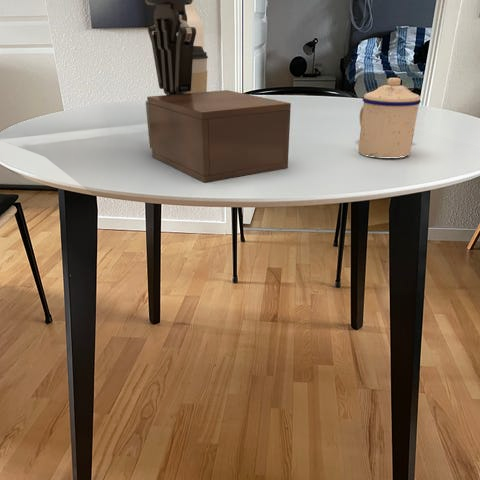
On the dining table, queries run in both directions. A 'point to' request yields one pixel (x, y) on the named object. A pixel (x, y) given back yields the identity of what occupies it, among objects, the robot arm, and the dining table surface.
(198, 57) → the coffee cup
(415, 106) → the teacup with lid
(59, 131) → the dining table surface
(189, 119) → the cabinet
